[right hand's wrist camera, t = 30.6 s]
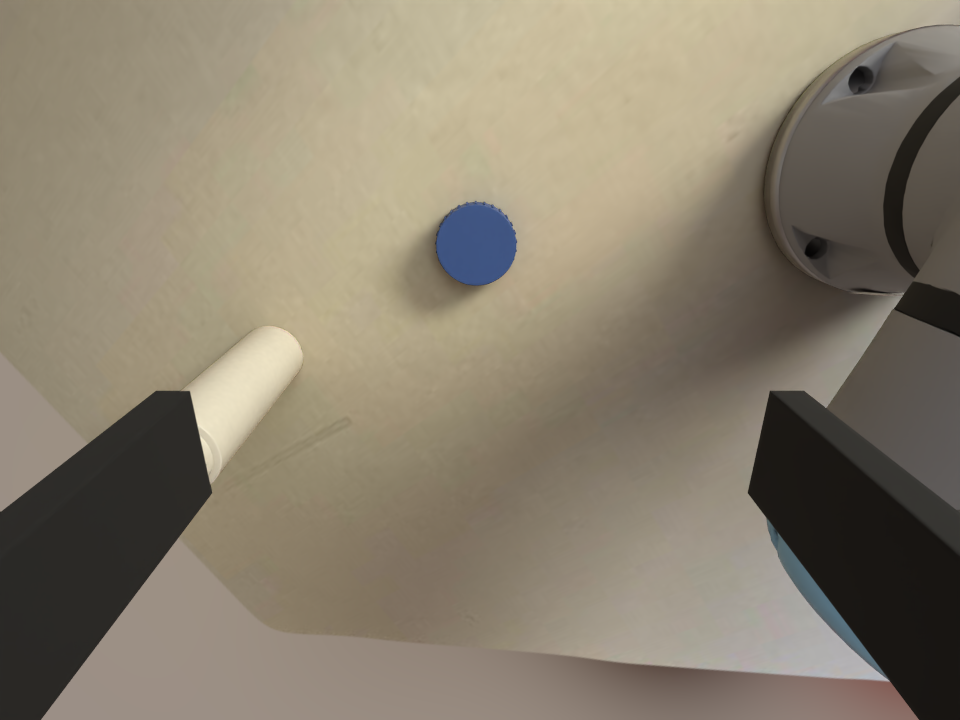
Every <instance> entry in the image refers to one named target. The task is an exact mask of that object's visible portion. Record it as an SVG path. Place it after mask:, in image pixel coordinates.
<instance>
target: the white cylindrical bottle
mask: <svg viewBox="0 0 960 720" xmlns="http://www.w3.org/2000/svg"><path fill="white" fill-rule="evenodd" d="M302 364H303V353H302V349H301V347H300V345H299V343H298V341H297V340H296V339H295V338H294V337H293V336H292V335H291V334H290V333H289V332H287V331H285V330H283V329H281V328H278V327H274V326H262V327H258V328H256V329H254V330H252V331H251V332H249V333H248V334H247V335H246V336H245V337H243V338H242V339H241V340H240V341H239V342H237V343H236V344H235V345H234V346H233V347H232V348H230V349H229V350H228V351H227V352H226V353H224V354H223V355H222V356H221V357H220V358H218V359H217V360H216V361H215V362H214V363H213V364H211V365H210V366H209V367H208V368H207V369H205V370H204V371H203V372H202V373H201V374H199V375H198V376H197V377H196V378H195V379H194V380H192V381H191V382H190V383H189V384H188V385H186V386H185V387H184V388H183V389H182V390H180V391H190V393H191V398H192V402H193V407H194V412H195V416H196V421H197V425H198V430H199V435H200V439H201V444H202V448H203V453H204V458H205V462H206V467H207V471H208V476H209V481H210V484H212V483H213V482H214V481H215V480H216V478H217V477H218V476H219V474H220V473H221V472H222V471H223V469H224V468H225V467H226V465H227V464H228V463H229V462H230V460H231V459H232V458H233V456H234V455H235V454H236V453H237V451H238V450H239V449H240V447H241V446H242V445H243V444H244V442H245V441H246V440H247V438H248V437H249V436H250V435H251V433H252V432H253V431H254V429H255V428H256V427H257V425H258V424H259V423H260V422H261V420H262V419H263V418H264V416H265V415H266V414H267V413H268V411H269V410H270V409H271V407H272V406H273V405H274V404H275V402H276V401H277V400H278V398H279V397H280V396H281V395H282V393H283V392H284V391H285V389H286V388H287V387H288V385H289V384H290V383H291V382H292V380H293V379H294V378H295V376H296V375H297V374H298V372H299V371H300V369H301V367H302Z"/></svg>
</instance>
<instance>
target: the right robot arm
mask: <svg viewBox="0 0 960 720" xmlns="http://www.w3.org/2000/svg"><path fill="white" fill-rule="evenodd" d="M764 203H765V211H766V216H767V220H768V224H769V227H770V230H771V233H772V235H773V237H774V239H775V242H776V244H777V245H778V247H779V248H780V250H781V251H782V253H783V254H784V255H785V256H786V258H787V259H788V260H789V261H790V262H791V263H792V264H793V265H794V266H795V267H797V268H798V269H799V270H801V271H802V272H803V273H805V274H807V275H809V276H810V277H812V278H814V279H817V280H819V281H821V282H824V283H826V284H828V285H831V286H833V287H836V288H838V289H842V290H845V291H849V292H855V293H853V294H867V295H881V296H903V297H902V298H901V300H900V301H899V303H898V304H897V306H896V307H895V308H894V309H895V310H894V309H893V310H892V311H891V313H890V314H889V316H888V318H887V319H886V321H885V322H884V324H883V325H882V327H881V328H880V330H879V331H878V333H877V334H876V336H875V337H874V339H873V340H872V342H871V343H870V345H869V347H868V348H867V350H866V351H865V353H864V354H863V356H862V357H861V359H860V360H859V362H858V363H857V365H856V366H855V367H854V369H853V370H852V372H851V373H850V375H849V376H848V378H847V379H846V381H845V382H844V383H843V385H842V386H841V388H840V389H839V391H838V392H837V394H836V395H835V397H834V398H833V400H832V401H831V402H830V404H829V405H828V407H827V408H825V407H824V406H823V405H821V404H820V403H819V402H817V401H816V400H815V399H814V398H812V397H811V396H810V395H808V394H807V393H806V392H805V391H770V393H769V398H768V402H767V407H766V412H765V416H764V421H763V425H762V430H761V435H760V439H759V444H758V448H757V453H756V458H755V462H754V467H753V471H752V476H751V481H750V485H749V490H748V494H749V495H750V496H751V498H752V499H753V500H754V502H755V503H756V504H757V506H758V507H759V508H760V510H761V511H762V512H763V514H764V515H765V516H766V518H767V525H768V530H769V533H770V536H771V541H772V543H773V545H774V546H775V548H776V550H777V552H778V557H779V559H780V562H781V563H782V565H783V567H784V569H785V570H786V572H787V574H788V575H789V577H790V578H791V580H792V581H793V583H794V584H795V586H796V587H797V588H798V590H799V591H800V593H801V594H802V595H803V597H804V598H805V599H806V600H807V602H808V603H809V604H810V605H811V607H812V608H813V609H814V610H815V611H816V613H817V614H818V615H819V616H820V617H821V618H822V619H823V620H824V621H825V622H826V623H827V625H828V626H829V627H830V628H831V629H832V630H833V631H834V632H835V633H836V634H837V635H838V636H839V637H840V638H841V639H842V640H843V641H844V642H845V643H846V644H847V645H848V646H849V647H850V648H851V649H852V650H854V651H855V652H856V653H857V654H858V655H859V656H860V657H861V658H862V659H864V660H865V661H866V662H867V663H868V664H869V665H870V666H872V667H873V668H874V669H875V670H876V671H878V672H879V673H880V674H882V675H883V676H884V677H885V678H887V679H888V680H889V681H890V682H891V683H892V684H893V686H894V687H895V688H896V690H897V691H898V692H899V694H900V695H901V696H902V698H903V699H904V700H905V702H906V703H907V704H908V706H909V707H910V708H911V710H912V711H913V712H914V714H915V715H916V716H917V718H918V719H919V720H960V25H934V26H926V27H921V28H916V29H912V30H908V31H904V32H900V33H896V34H892V35H888V36H885V37H882V38H879V39H876V40H874V41H872V42H869V43H867V44H865V45H862V46H861V47H859V48H857V49H855V50H853V51H852V52H850V53H848V54H847V55H845V56H844V57H842V58H841V59H839V60H838V61H836V62H835V63H834V64H833V65H831V66H830V67H829V68H828V69H826V70H825V71H824V72H823V73H822V74H821V75H820V76H819V77H818V78H816V79H815V80H814V81H813V83H812V84H811V85H810V86H809V87H808V88H807V89H806V90H805V91H804V93H803V94H802V95H801V96H800V98H799V99H798V100H797V102H796V103H795V104H794V106H793V107H792V109H791V110H790V112H789V113H788V115H787V117H786V119H785V120H784V122H783V124H782V126H781V128H780V130H779V132H778V134H777V137H776V139H775V141H774V144H773V147H772V150H771V153H770V156H769V160H768V164H767V169H766V175H765V185H764ZM902 292H905V294H904V295H897V294H886V293H902ZM211 494H212V490H211V485H210V481H209V476H208V471H207V467H206V462H205V458H204V453H203V448H202V444H201V439H200V435H199V430H198V425H197V421H196V416H195V412H194V407H193V402H192V398H191V393H190V391H155V392H154V393H153V394H152V395H150V396H149V397H148V398H146V399H145V400H144V401H143V402H141V403H140V404H139V405H137V406H136V407H135V408H134V409H132V410H131V411H130V412H128V413H127V414H126V415H125V416H123V417H122V418H121V419H120V420H118V421H117V422H116V423H114V424H113V425H112V426H111V427H109V428H108V429H107V430H105V431H104V432H103V433H102V434H100V435H99V436H98V437H96V438H95V439H94V440H93V441H91V442H90V443H89V444H87V445H86V446H85V447H84V448H82V449H81V450H80V451H78V452H77V453H76V454H75V455H73V456H72V457H71V458H69V459H68V460H67V461H66V462H64V463H63V464H62V465H61V466H59V467H58V468H57V469H55V470H54V471H53V472H52V473H50V474H49V475H48V476H46V477H45V478H44V479H43V480H41V481H40V482H39V483H37V484H36V485H35V486H34V487H32V488H31V489H30V490H29V491H27V492H26V493H25V494H23V495H22V496H21V497H19V498H18V499H17V500H16V501H14V502H13V503H12V504H10V505H9V506H8V507H7V508H5V509H4V510H3V511H2V512H0V720H41V719H42V718H43V716H44V715H45V714H46V712H47V711H48V710H49V708H50V707H51V705H52V704H53V703H54V702H55V700H56V699H57V698H58V696H59V695H60V694H61V692H62V691H63V690H64V688H65V687H66V686H67V684H68V683H69V682H70V680H71V679H72V678H73V676H74V675H75V674H76V672H77V671H78V670H79V668H80V667H81V666H82V665H83V663H84V662H85V661H86V659H87V658H88V657H89V655H90V654H91V653H92V651H93V650H94V649H95V647H96V646H97V645H98V643H99V642H100V641H101V639H102V638H103V637H104V635H105V634H106V633H107V631H108V630H109V629H110V627H111V626H112V625H113V624H114V622H115V621H116V620H117V618H118V617H119V616H120V614H121V613H122V612H123V610H124V609H125V608H126V606H127V605H128V604H129V602H130V601H131V600H132V598H133V597H134V596H135V594H136V593H137V592H138V590H139V589H140V588H141V586H142V585H143V584H144V582H145V581H146V580H147V579H148V577H149V576H150V574H151V573H152V572H153V571H154V569H155V568H156V567H157V565H158V564H159V563H160V561H161V560H162V559H163V557H164V556H165V555H166V553H167V552H168V551H169V549H170V548H171V547H172V545H173V544H174V543H175V541H176V540H177V539H178V538H179V536H180V535H181V534H182V532H183V531H184V530H185V528H186V527H187V526H188V524H189V523H190V522H191V520H192V519H193V518H194V516H195V515H196V514H197V512H198V511H199V510H200V508H201V507H202V506H203V504H204V503H205V502H206V500H207V499H208V498H209V496H210V495H211Z"/></svg>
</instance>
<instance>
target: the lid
mask: <svg viewBox="0 0 960 720" xmlns="http://www.w3.org/2000/svg"><path fill="white" fill-rule="evenodd" d="M512 226H513V225H512V223H511V222H510V221H509V220H508V217H507V215H504V214H503V213H502V212H501V209H497V208H496V207H494V205H493V204H492V205H489V204H486V203H485V202H483V203H481V202H477V201H475V202H472V203H468V202H466V204H463V205H461V206H460V205H458V207H457V208H455V209H454V210H451V211H450V213H449V214H448V215H447V216H445V217H444V221H443V223H441V224H440V226H439V227H440V229H439V231H438V232H437V235H436V236H437V240H436V243H435V244H436V249H437V251H436V253H437V255H438V258H439V261H440V263H441V265H442V267H443V268H444V269H445V271H446V272H447V273H448V274H449V275H450V276H451V277H453V278H454V279H456V280H457V281H459V282H461V283H464V284H468V285H485V284H489V283H491V282H494V281H495V280H497V279H499V278H500V277H501V276H503V275H504V274H505V273H506V272H507V270H508V269H509V268H510V266H511V264H512V262H513V260H514V257H515V253H516V251H517V250H516V243H517V240H516V238H515V234H516V233H515V230H513V228H512Z"/></svg>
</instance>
